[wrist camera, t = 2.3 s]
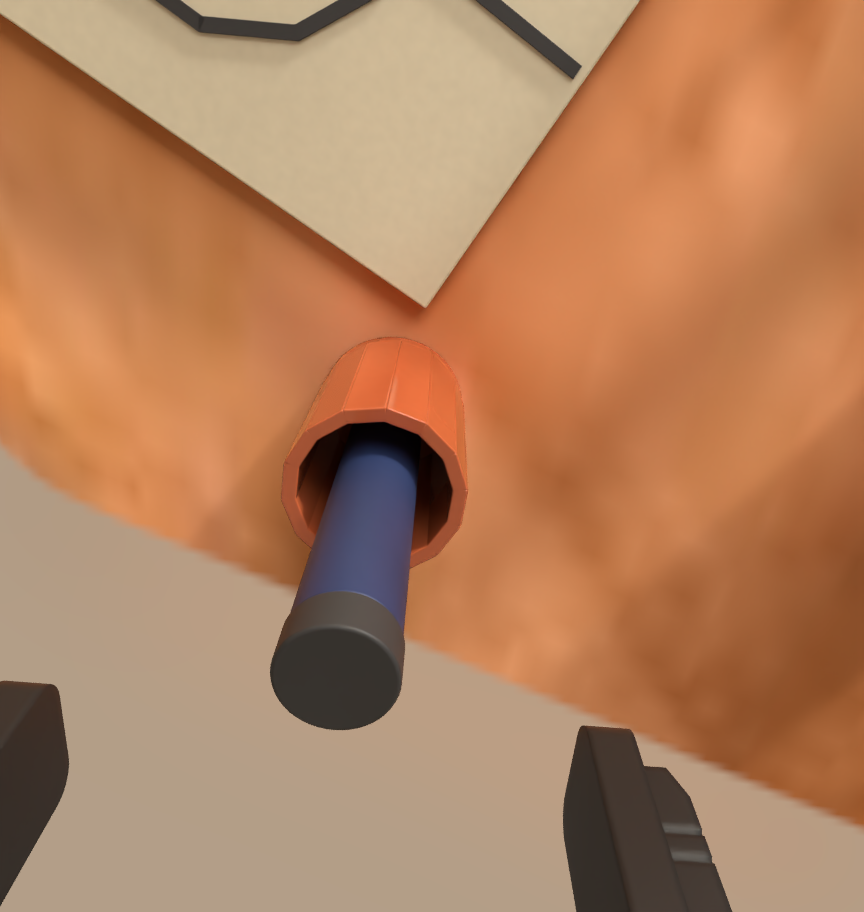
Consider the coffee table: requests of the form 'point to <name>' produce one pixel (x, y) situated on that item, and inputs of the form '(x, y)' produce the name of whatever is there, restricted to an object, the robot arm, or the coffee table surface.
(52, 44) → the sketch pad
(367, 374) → the pen cup
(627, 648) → the coffee table surface
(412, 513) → the marker
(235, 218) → the coffee table surface
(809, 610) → the coffee table surface
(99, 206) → the coffee table surface
